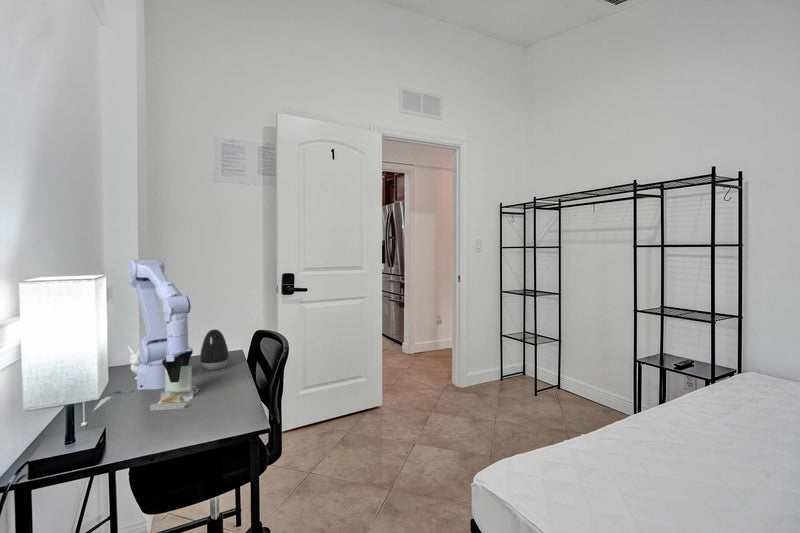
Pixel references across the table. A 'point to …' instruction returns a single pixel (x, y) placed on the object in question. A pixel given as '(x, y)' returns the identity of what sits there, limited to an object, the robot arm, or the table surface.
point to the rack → (185, 394)
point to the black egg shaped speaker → (214, 351)
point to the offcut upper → (171, 398)
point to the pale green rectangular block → (180, 380)
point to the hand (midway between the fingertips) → (178, 378)
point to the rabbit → (134, 360)
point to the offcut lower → (173, 402)
